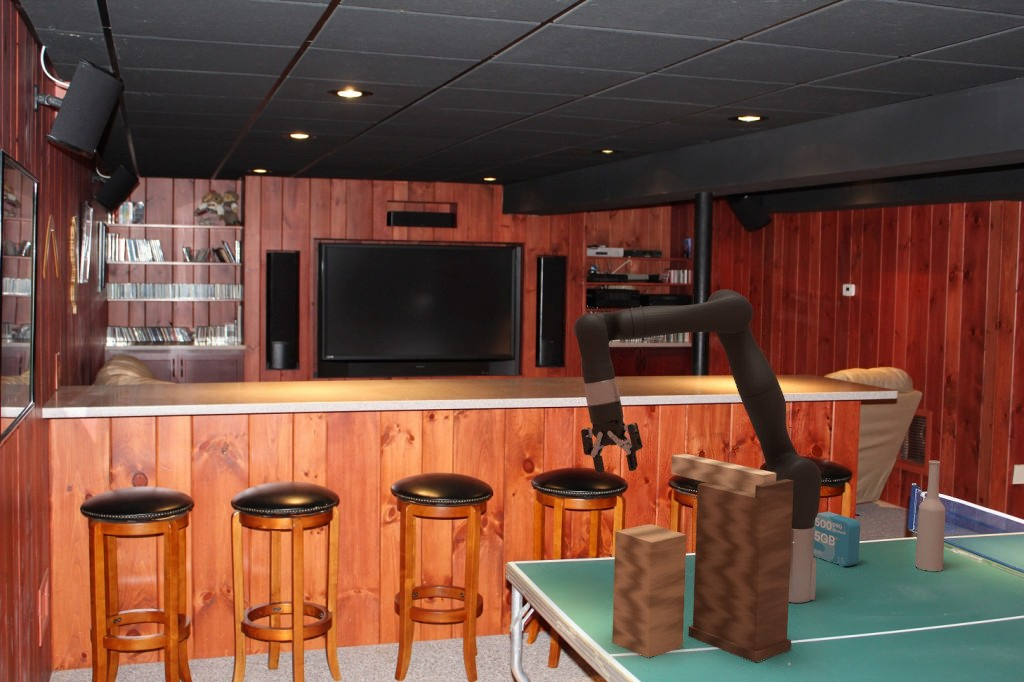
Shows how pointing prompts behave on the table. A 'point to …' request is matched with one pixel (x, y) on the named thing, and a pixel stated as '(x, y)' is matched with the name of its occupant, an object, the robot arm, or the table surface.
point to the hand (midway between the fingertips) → (616, 471)
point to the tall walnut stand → (743, 569)
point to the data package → (836, 538)
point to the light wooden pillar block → (649, 589)
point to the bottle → (931, 525)
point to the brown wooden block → (720, 472)
